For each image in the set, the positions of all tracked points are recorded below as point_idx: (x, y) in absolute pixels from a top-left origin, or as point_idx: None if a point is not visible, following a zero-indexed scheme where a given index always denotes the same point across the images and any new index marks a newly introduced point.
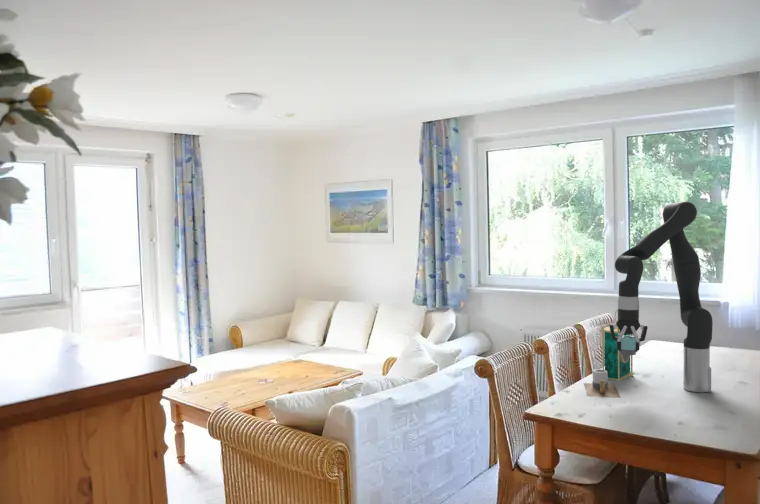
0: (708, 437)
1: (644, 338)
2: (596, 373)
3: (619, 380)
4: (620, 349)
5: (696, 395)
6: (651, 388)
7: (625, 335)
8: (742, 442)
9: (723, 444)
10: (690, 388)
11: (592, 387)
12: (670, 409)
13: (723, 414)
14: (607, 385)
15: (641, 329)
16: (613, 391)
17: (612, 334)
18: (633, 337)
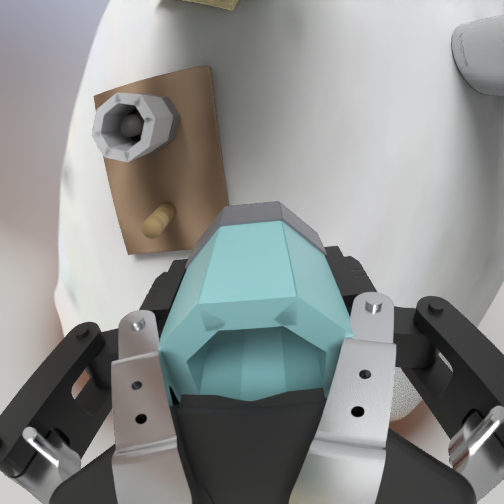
0: None
1: (432, 370)
2: (112, 157)
3: (229, 4)
4: None
5: (473, 121)
6: (355, 42)
7: None
8: (414, 397)
9: None
10: (471, 80)
11: None
12: (373, 280)
13: (468, 282)
14: (177, 122)
15: (451, 450)
16: (204, 174)
17: (86, 413)
18: (325, 383)
